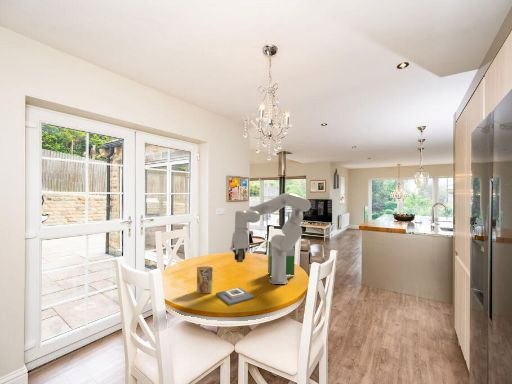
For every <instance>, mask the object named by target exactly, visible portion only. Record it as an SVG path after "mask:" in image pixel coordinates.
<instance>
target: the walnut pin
mask: <svg viewBox="0 0 512 384" xmlns="http://www.w3.org/2000/svg"><path fill="white" fill-rule="evenodd" d="M236 262H237V263H243V262H244V260H243V249H238V261H237V260H236Z"/></svg>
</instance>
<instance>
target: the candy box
mask: <svg viewBox="0 0 512 384" xmlns="http://www.w3.org/2000/svg"><path fill="white" fill-rule="evenodd" d="M213 276H214V265H212V264H211V265H210V264H209V265H205V264H204V265H202V264H201V265H198V266H197V268H196V294H212V292H213V286H214V285H213V283H214V281H213V278H214V277H213Z"/></svg>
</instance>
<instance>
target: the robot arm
mask: <svg viewBox="0 0 512 384" xmlns="http://www.w3.org/2000/svg"><path fill="white" fill-rule="evenodd" d="M285 207H290V208H291V214H290V217H289V218H288V219H287V221H285V223H284V224H283V225H282V227H281V232H282V234H283V235H282V234H278V233H277V234H274V235H273V236H272V237H271V240H270V242H271V248H272V277H271V278H270V277H269V279H268V282H269V283H270V284H271V283H272V284H271V285H274V284H285V283H287V282H288V283H289V280H288V279H289V278H292V277H291V275H290V274H289V275H287V274H286V252H288V251H290V250H291V249H292V248H293V247H294V245H295V246H296V244H297V243H298V241H299V240H300V239H301V237H302V234H303V228H302V226H301V223H302V222H303V219H304V212H308V211H310V209H311V208H312V203H311V201H310V200H309V199H307V198H305V197H303V196H301V195H297V194H294V193H291V192H289V193H287V192H286V193H281V194H279V195H277V196H276V197H273V198H271V199H269V200H267V201H264V202H263V203H260V204H256V205H255V206H252V207H251V208H249V209H247V210H236V211H235V213H234V214H235V215H234V232H233V233H232V235H231V236H232V237H231V246H230V248H229V250H230V251H231V252H232V253H233V254H234V261H236V262H237V261H238V249H243V261H245V259H246V253H247V252H248V250H249V249H250V248H251V246H250V245H249V234H248V231H249V228H248V223H253V224H255V223H258V222H259V221H260V219H261V216H264V215H268V214H273V213H275V212H278V211H279V210H281V209H283V208H285ZM288 283H287V284H288ZM285 285H286V284H285Z"/></svg>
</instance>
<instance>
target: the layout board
mask: <svg viewBox="0 0 512 384" xmlns="http://www.w3.org/2000/svg"><path fill="white" fill-rule="evenodd" d="M215 296H216V297H218V298H219V299H221V300H222V301H223V302H225V303H226V304H227V305H228V306H232V305H235V304H239V303H242V302H245V301H249V300H254V299H255V296H254V295H253V294H251V293H249V292H248V291H247V290H245V289H243V288H241V287H240V286H239V287H235V288H232V289H230V288H229V289H227V290H223V291H222V290H221V291H218V292H216V293H215Z"/></svg>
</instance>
